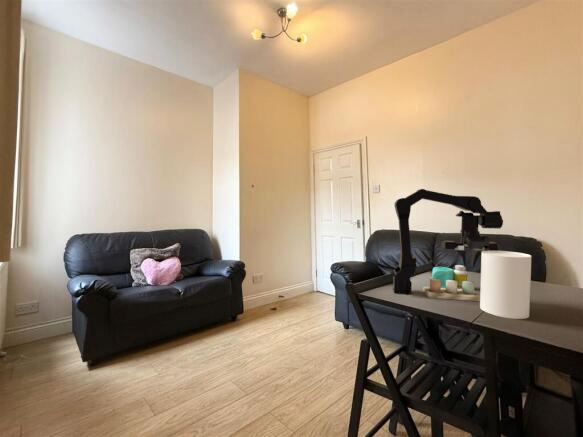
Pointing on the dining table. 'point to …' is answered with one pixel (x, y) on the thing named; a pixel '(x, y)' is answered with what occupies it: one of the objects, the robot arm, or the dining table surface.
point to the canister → (505, 284)
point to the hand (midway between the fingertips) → (468, 267)
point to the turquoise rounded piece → (442, 275)
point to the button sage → (468, 287)
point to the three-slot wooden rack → (451, 294)
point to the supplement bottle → (459, 275)
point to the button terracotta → (435, 285)
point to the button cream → (451, 286)
